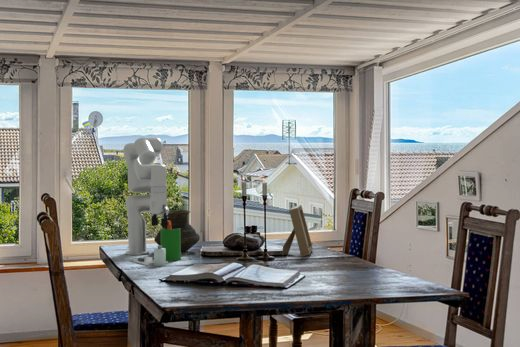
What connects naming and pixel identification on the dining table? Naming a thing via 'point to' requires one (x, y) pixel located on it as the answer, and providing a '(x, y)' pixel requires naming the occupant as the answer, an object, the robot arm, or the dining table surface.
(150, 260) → the clip bracket
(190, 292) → the dining table surface
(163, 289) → the dining table surface
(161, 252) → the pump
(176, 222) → the ceramic pot
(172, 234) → the motor
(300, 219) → the photo frame
